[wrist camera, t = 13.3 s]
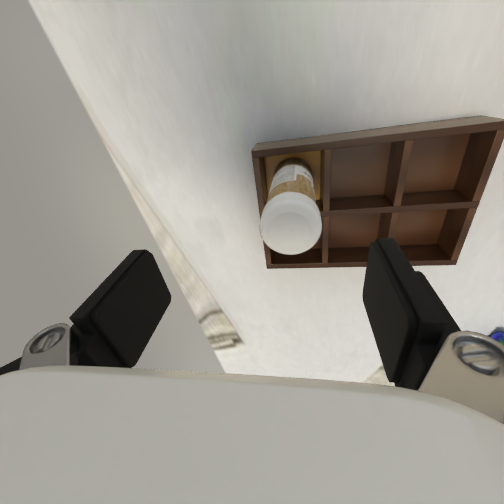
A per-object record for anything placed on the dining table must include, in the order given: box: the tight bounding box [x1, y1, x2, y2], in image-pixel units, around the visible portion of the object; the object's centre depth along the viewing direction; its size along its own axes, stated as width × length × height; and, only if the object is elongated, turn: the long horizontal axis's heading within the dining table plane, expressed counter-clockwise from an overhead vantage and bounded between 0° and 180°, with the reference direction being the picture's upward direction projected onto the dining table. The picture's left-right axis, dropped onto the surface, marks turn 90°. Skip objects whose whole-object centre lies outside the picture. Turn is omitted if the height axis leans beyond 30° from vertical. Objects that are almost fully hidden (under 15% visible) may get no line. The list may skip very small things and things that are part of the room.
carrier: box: [251, 116, 504, 269], centre depth 28 cm, size 15×22×4 cm
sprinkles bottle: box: [260, 157, 322, 255], centre depth 23 cm, size 5×5×14 cm
